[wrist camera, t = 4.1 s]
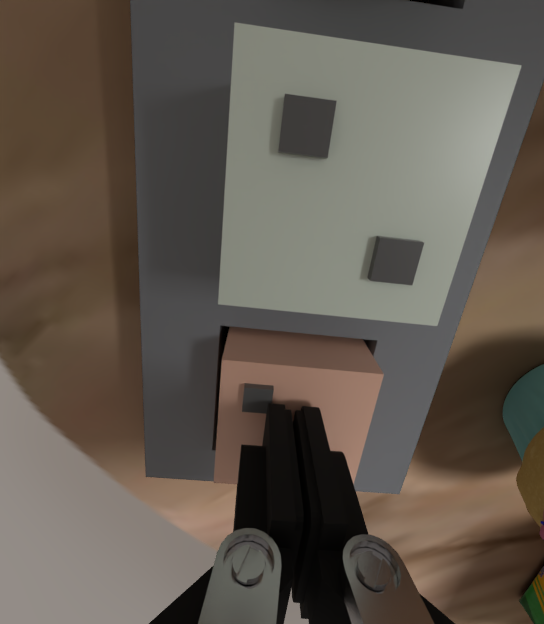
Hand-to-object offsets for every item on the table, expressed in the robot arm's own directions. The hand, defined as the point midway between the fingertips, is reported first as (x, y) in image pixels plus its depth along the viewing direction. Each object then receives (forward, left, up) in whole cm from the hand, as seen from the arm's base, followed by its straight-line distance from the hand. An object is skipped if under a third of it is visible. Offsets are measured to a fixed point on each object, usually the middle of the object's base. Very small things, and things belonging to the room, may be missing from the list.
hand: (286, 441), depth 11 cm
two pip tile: (0, -8, -2) cm, 8 cm away
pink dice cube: (0, 0, -4) cm, 4 cm away
